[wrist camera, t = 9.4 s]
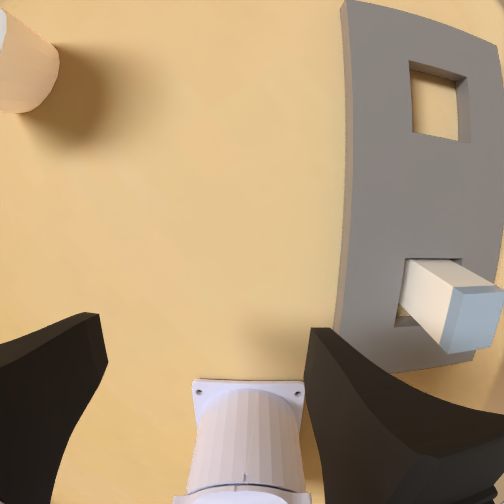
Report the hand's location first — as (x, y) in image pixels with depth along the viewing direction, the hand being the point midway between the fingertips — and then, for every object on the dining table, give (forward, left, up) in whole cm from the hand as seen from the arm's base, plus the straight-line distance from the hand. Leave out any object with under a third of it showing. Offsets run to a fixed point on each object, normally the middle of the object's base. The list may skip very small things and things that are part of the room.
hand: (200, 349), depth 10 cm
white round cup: (+14, +15, -10) cm, 22 cm away
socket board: (+5, -13, -9) cm, 17 cm away
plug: (-1, -13, -10) cm, 16 cm away
